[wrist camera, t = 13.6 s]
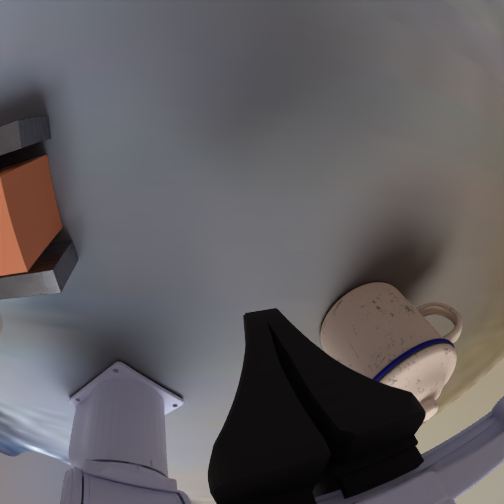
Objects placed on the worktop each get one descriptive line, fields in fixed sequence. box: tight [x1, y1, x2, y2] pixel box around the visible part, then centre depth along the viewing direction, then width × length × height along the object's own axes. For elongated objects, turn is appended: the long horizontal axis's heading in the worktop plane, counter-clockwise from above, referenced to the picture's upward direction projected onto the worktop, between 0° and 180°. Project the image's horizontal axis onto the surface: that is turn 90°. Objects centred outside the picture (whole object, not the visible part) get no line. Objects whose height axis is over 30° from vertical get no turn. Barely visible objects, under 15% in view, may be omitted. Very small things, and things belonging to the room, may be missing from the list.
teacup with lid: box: [320, 282, 463, 422], centre depth 22 cm, size 12×9×12 cm
